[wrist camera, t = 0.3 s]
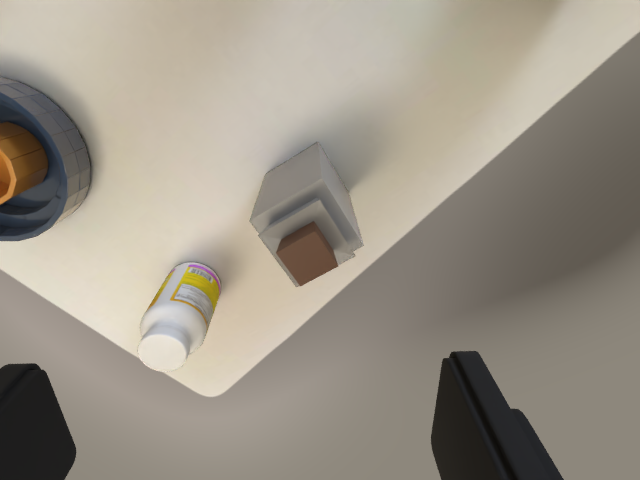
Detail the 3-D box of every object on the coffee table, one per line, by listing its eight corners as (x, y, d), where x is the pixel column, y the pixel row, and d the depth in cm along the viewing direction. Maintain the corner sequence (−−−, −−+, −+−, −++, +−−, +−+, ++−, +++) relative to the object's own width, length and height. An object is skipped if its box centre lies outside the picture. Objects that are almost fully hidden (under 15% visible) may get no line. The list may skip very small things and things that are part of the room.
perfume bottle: (298, 221, 47) (293, 313, 30) (265, 173, 44) (240, 245, 28) (348, 193, 45) (371, 272, 29) (318, 141, 43) (323, 197, 27)
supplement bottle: (178, 309, 52) (140, 384, 40) (160, 265, 49) (114, 332, 37) (229, 300, 51) (205, 374, 40) (213, 255, 48) (183, 320, 37)
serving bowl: (-90, 74, 39) (-143, 78, 35) (72, 76, 39) (42, 80, 35) (-32, 222, 46) (-70, 241, 41) (106, 222, 46) (84, 241, 42)
